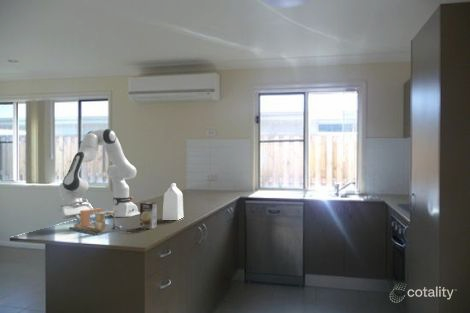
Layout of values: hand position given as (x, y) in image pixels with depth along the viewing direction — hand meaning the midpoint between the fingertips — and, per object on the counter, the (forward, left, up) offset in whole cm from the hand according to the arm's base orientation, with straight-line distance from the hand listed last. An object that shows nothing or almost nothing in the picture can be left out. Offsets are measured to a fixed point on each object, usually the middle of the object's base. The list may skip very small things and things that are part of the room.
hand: (82, 221), depth 217 cm
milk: (-58, +22, -6) cm, 62 cm away
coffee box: (-28, +28, -6) cm, 40 cm away
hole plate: (-6, +6, -5) cm, 10 cm away
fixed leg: (-5, +6, -4) cm, 9 cm away
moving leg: (-5, +3, -3) cm, 6 cm away
